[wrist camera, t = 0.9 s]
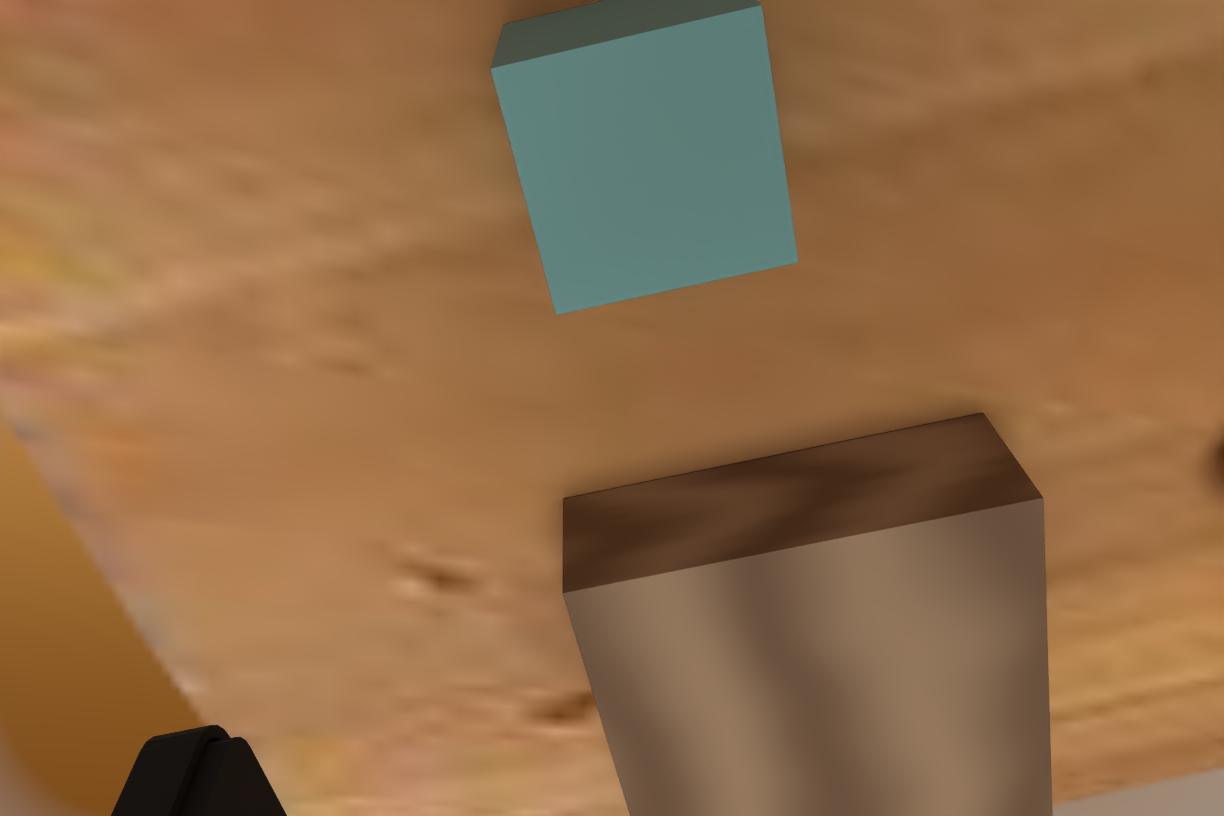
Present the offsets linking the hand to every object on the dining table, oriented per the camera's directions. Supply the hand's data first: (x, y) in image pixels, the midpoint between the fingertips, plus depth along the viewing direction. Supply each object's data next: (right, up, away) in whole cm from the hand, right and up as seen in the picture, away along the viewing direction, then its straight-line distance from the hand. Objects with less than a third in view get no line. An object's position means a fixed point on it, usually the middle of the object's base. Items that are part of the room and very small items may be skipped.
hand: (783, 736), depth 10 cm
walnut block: (+5, -5, +29) cm, 30 cm away
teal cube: (-1, +11, +20) cm, 23 cm away
